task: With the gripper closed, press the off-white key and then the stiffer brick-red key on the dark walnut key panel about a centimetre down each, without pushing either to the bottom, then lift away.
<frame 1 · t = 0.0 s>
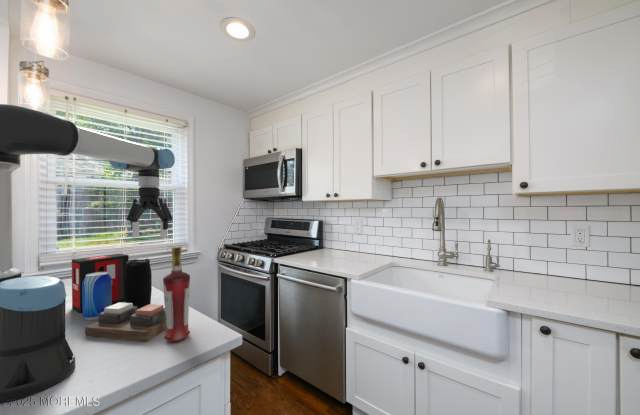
hand: (149, 237, 113), 28 cm above the counter, tool pointing down, fingers open, 13 cm apart
off-white key: (118, 308, 90), point 7 cm above the counter, slide at 0.0 cm
brick-red key: (149, 310, 88), point 6 cm above the counter, slide at 0.0 cm
liquor: (177, 339, 82), on the counter
cleaning product box: (101, 305, 113), on the counter
black tapered cylinder: (138, 309, 107), on the counter
blue striped container: (97, 317, 100), on the counter
key panel: (134, 329, 89), on the counter
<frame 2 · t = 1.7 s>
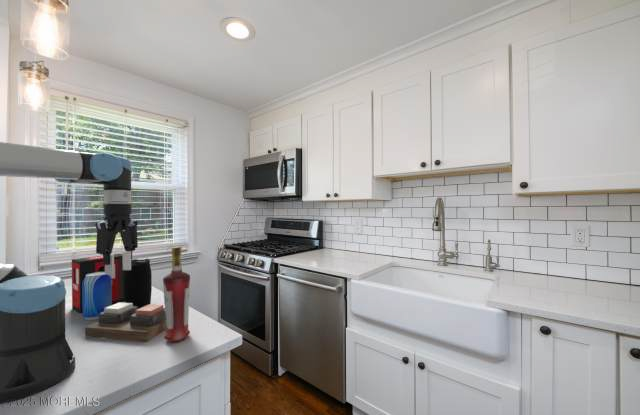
hand: (118, 271, 90), 19 cm above the counter, tool pointing down, fingers open, 6 cm apart
nothing on the counter moved.
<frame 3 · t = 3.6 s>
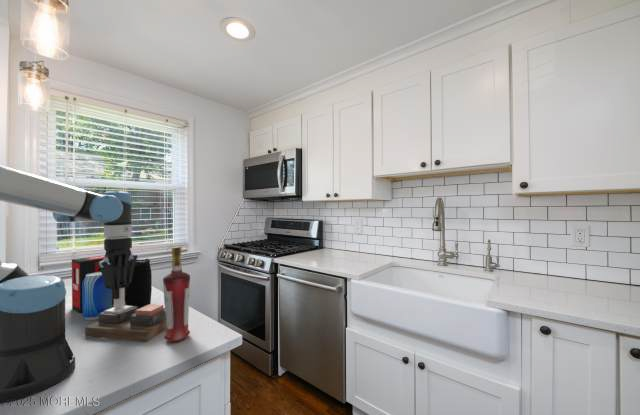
hand: (119, 307, 90), 7 cm above the counter, tool pointing down, fingers closed
off-white key: (118, 311, 90), point 6 cm above the counter, slide at 0.9 cm, touching gripper
everything else where it was.
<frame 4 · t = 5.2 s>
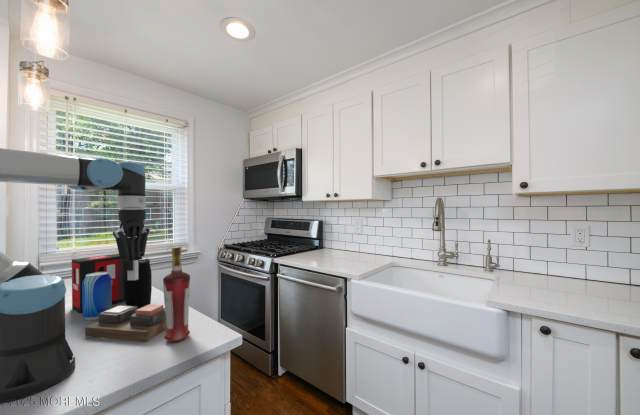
hand: (133, 279, 89), 16 cm above the counter, tool pointing down, fingers closed
off-white key: (118, 311, 90), point 5 cm above the counter, slide at 1.1 cm
everything else where it was.
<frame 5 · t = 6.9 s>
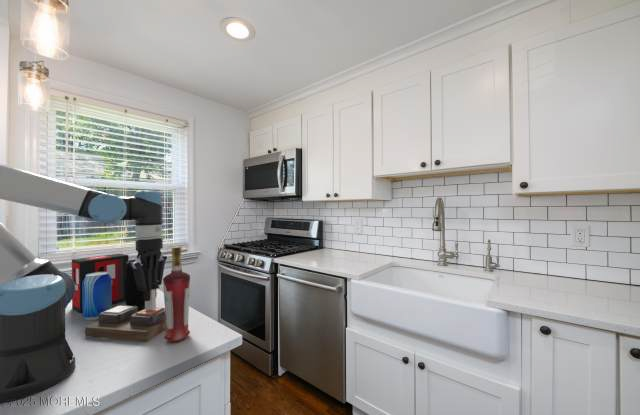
hand: (150, 309, 88), 7 cm above the counter, tool pointing down, fingers closed
brick-red key: (150, 313, 88), point 6 cm above the counter, slide at 0.9 cm, touching gripper
everything else where it was.
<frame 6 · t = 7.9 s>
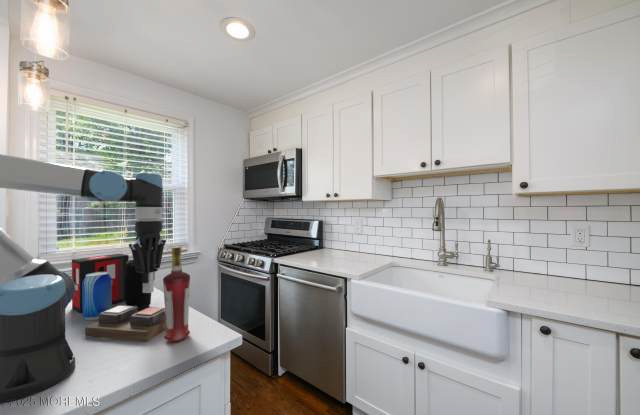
hand: (148, 292, 88), 13 cm above the counter, tool pointing down, fingers closed
brick-red key: (150, 313, 88), point 5 cm above the counter, slide at 1.1 cm
everything else where it was.
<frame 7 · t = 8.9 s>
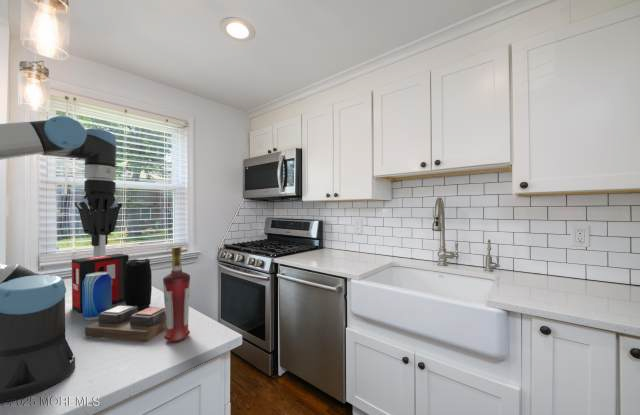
hand: (99, 256, 83), 25 cm above the counter, tool pointing down, fingers closed
nothing on the counter moved.
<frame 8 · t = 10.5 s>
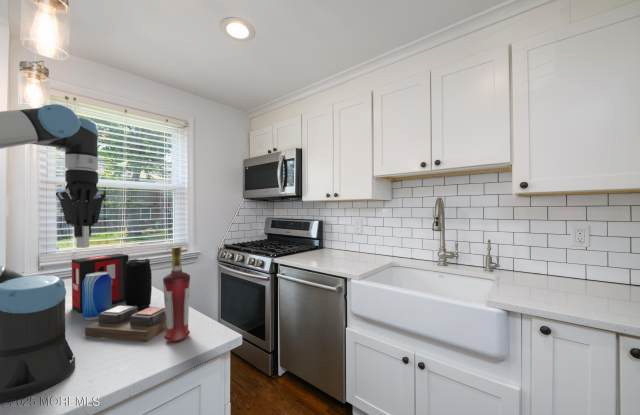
hand: (82, 247, 82), 28 cm above the counter, tool pointing down, fingers closed
nothing on the counter moved.
at the end: off-white key slide at 1.1 cm; brick-red key slide at 1.1 cm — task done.
